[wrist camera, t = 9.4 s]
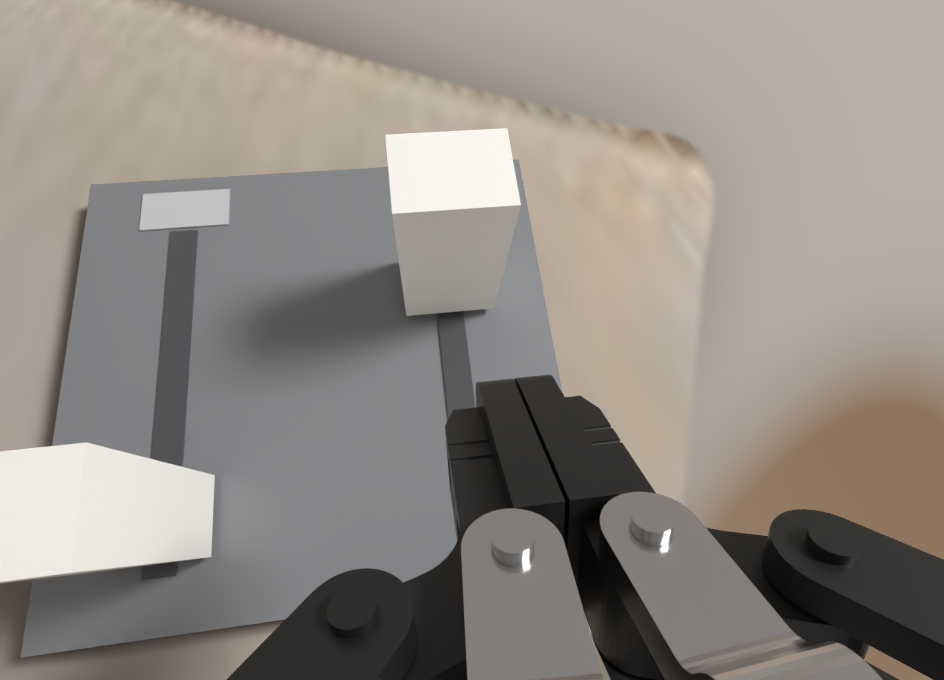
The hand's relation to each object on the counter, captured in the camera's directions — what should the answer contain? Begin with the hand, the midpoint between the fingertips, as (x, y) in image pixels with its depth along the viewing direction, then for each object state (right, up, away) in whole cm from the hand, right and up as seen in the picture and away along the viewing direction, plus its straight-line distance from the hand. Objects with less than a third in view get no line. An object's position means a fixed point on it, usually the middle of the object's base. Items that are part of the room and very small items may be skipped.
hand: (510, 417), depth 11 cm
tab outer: (-2, +4, +13) cm, 14 cm away
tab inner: (-13, -5, +9) cm, 17 cm away
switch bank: (-8, 0, +14) cm, 16 cm away
